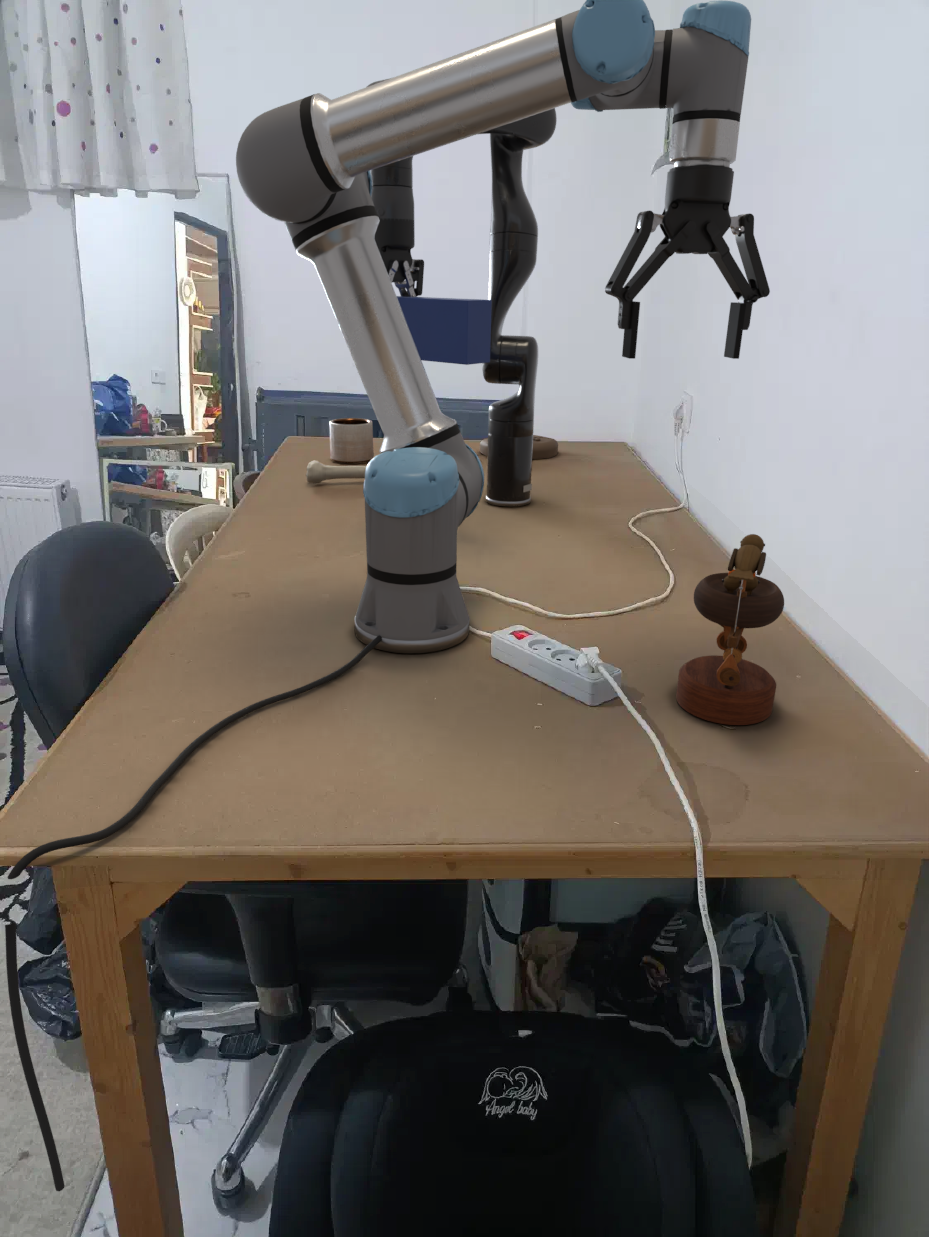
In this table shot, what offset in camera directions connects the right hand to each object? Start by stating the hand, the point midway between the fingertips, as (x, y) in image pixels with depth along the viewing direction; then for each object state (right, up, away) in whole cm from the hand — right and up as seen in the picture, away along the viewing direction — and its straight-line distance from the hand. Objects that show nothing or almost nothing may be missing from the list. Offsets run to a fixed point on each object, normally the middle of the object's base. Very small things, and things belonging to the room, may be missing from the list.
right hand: (393, 322), depth 148 cm
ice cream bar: (+27, -10, +72) cm, 77 cm away
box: (+6, -7, -2) cm, 9 cm away
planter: (-16, -12, +66) cm, 69 cm away
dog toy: (-13, -21, +43) cm, 50 cm away
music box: (+42, -61, -52) cm, 91 cm away
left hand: (+40, -19, -42) cm, 61 cm away
